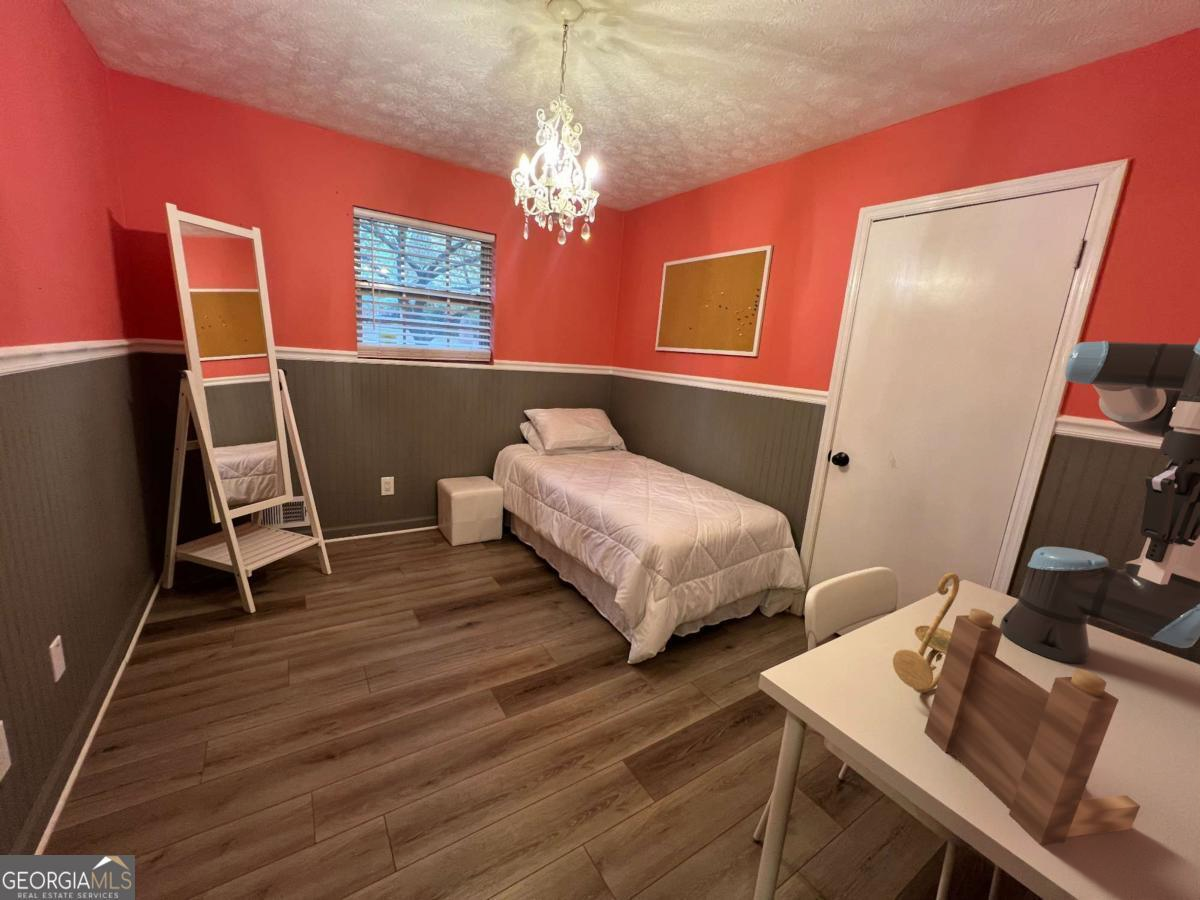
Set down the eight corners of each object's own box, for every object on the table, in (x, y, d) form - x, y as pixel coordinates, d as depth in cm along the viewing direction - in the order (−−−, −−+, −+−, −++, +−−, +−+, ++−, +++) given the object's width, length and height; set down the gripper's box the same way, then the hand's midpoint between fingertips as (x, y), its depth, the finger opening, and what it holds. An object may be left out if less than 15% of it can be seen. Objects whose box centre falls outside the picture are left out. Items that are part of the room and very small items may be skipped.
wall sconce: (930, 721, 80) (967, 591, 74) (877, 684, 88) (907, 565, 82) (972, 699, 86) (1008, 578, 80) (919, 667, 94) (949, 555, 89)
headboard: (1002, 726, 80) (1041, 605, 75) (1135, 833, 62) (1197, 684, 57) (924, 732, 77) (959, 606, 72) (1040, 844, 60) (1096, 689, 55)
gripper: (1203, 431, 71) (1152, 568, 76) (1139, 426, 69) (1090, 568, 74) (1280, 440, 64) (1217, 592, 69) (1210, 435, 62) (1151, 592, 67)
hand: (1152, 579), depth 72 cm, fingers closed
